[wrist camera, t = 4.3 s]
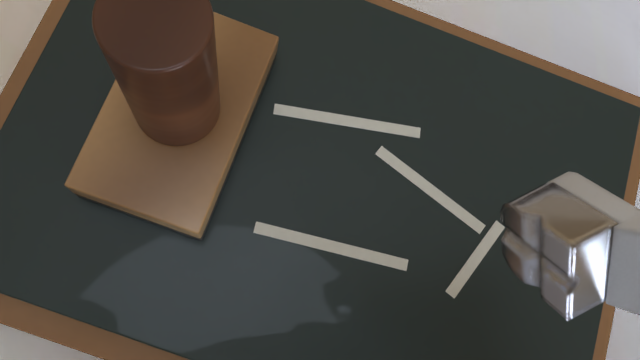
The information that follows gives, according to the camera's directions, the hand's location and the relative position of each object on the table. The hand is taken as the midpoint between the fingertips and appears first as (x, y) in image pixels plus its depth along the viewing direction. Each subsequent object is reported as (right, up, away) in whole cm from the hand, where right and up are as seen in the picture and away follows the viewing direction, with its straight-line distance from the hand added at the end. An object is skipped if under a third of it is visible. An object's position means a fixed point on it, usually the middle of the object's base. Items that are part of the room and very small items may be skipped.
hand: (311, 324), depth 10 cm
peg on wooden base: (-5, +5, +12) cm, 14 cm away
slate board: (0, +2, +14) cm, 14 cm away
